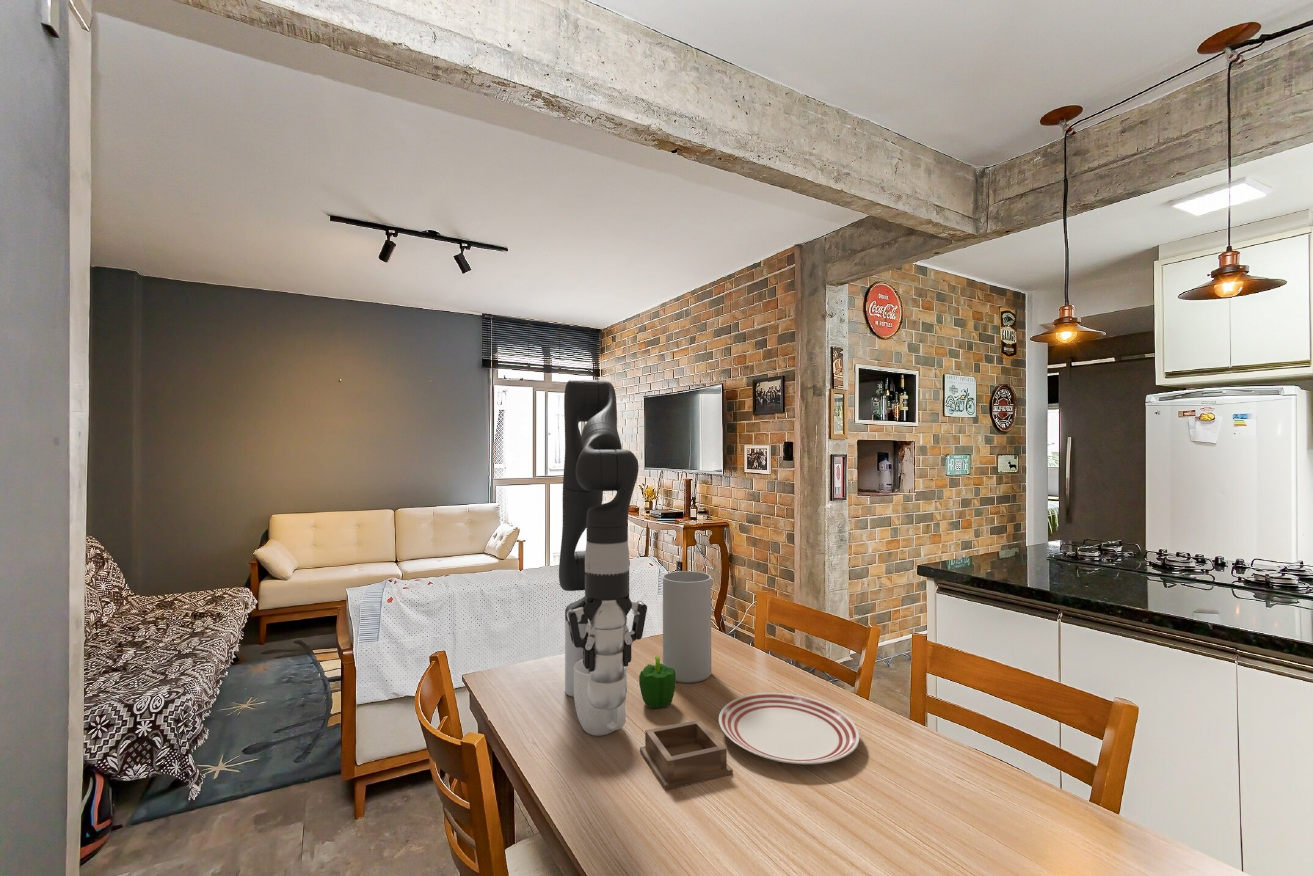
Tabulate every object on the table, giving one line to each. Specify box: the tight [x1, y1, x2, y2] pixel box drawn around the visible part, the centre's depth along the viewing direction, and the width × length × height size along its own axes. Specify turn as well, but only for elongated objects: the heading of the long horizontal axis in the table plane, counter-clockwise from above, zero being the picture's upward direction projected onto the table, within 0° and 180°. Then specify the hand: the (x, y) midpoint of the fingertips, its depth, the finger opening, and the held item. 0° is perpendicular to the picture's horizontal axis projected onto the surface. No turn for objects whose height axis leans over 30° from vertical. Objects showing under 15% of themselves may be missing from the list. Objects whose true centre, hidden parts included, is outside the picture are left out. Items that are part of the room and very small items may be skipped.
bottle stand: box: [639, 719, 734, 791], centre depth 104 cm, size 13×13×4 cm
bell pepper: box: [638, 655, 676, 709], centre depth 128 cm, size 8×8×10 cm
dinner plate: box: [718, 692, 860, 765], centre depth 113 cm, size 27×27×3 cm
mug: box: [573, 659, 628, 737], centre depth 115 cm, size 15×11×13 cm
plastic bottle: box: [587, 600, 628, 710], centre depth 95 cm, size 6×7×20 cm
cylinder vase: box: [662, 570, 712, 684], centre depth 145 cm, size 12×12×25 cm
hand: (607, 667), depth 95 cm, fingers closed on plastic bottle, 5 cm apart
